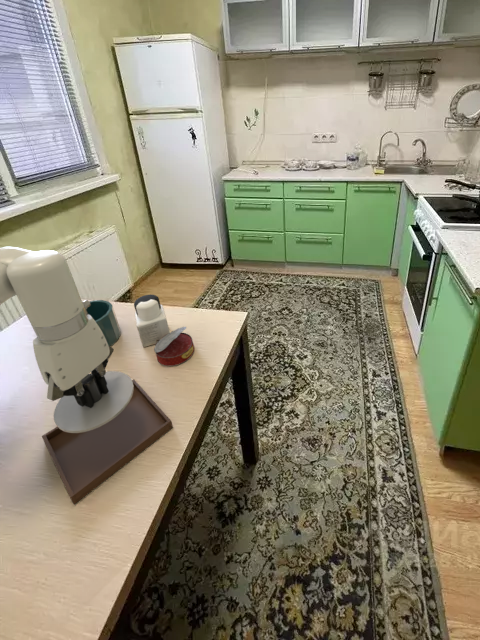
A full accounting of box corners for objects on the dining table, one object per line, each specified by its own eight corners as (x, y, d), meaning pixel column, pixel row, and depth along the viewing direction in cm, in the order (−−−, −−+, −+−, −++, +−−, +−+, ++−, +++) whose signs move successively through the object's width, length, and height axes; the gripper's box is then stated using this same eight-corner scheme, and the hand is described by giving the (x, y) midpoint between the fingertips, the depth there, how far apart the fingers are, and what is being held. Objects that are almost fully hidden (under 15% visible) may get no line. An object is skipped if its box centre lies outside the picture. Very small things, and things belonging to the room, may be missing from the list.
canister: (81, 361, 87) (70, 334, 83) (66, 340, 95) (54, 314, 90) (128, 337, 95) (119, 311, 91) (110, 320, 103) (101, 295, 99)
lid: (70, 451, 55) (56, 426, 52) (46, 405, 63) (33, 382, 60) (147, 398, 64) (139, 375, 61) (117, 365, 72) (109, 343, 69)
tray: (74, 504, 56) (70, 498, 55) (45, 442, 67) (41, 436, 66) (173, 427, 69) (171, 420, 68) (135, 385, 79) (133, 379, 78)
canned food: (172, 379, 86) (147, 364, 80) (163, 353, 94) (140, 337, 87) (206, 351, 88) (185, 334, 81) (195, 328, 95) (174, 310, 88)
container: (140, 332, 97) (129, 296, 91) (167, 324, 100) (158, 288, 94) (143, 348, 91) (131, 310, 85) (171, 339, 94) (162, 302, 88)
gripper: (88, 292, 62) (114, 363, 71) (-6, 348, 49) (40, 427, 57) (117, 300, 60) (140, 372, 68) (26, 361, 46) (69, 442, 55)
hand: (94, 397), depth 63 cm, fingers closed on lid, 2 cm apart
